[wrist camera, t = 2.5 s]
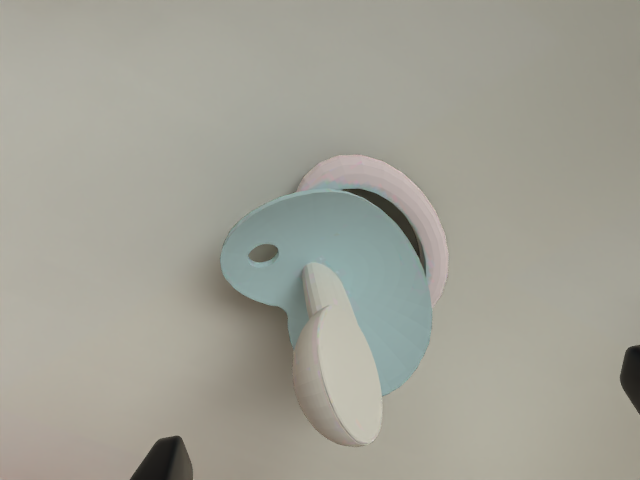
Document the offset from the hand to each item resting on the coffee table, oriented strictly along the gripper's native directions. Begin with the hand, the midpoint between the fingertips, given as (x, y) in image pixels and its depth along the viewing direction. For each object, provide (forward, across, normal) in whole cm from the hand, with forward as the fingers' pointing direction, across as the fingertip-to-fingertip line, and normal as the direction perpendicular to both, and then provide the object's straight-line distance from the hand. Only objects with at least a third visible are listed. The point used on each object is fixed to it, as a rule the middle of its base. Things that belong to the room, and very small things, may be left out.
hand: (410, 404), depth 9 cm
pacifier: (+6, 0, 0) cm, 7 cm away
